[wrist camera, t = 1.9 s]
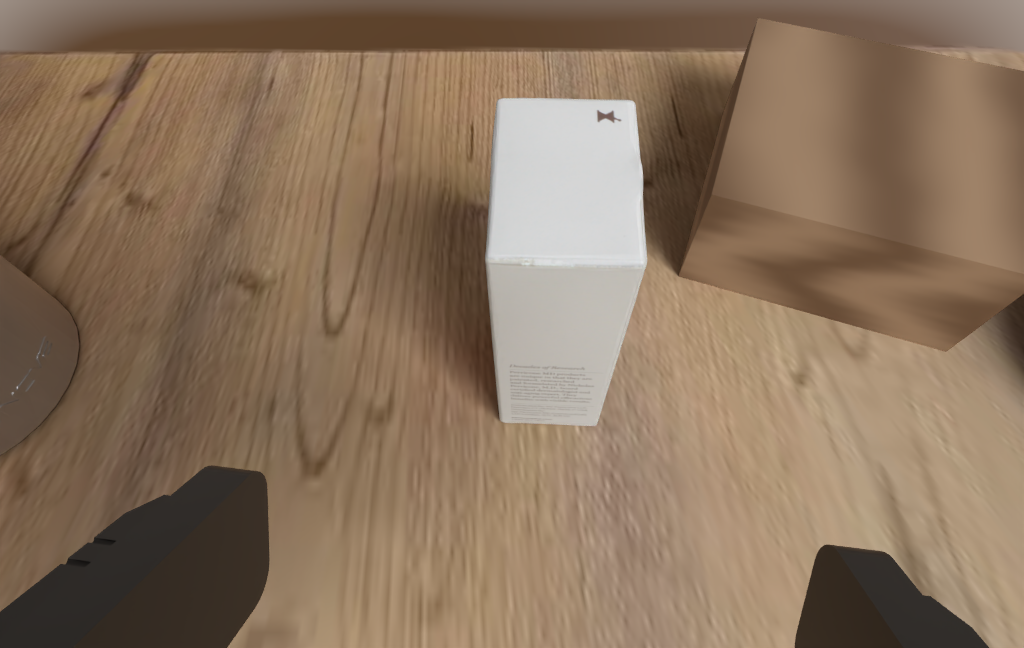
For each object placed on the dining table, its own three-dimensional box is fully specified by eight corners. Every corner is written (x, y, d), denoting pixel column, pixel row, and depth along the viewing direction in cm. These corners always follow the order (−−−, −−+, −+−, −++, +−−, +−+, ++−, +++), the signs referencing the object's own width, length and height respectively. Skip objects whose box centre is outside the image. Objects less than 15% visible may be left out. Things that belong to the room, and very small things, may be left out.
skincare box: (503, 303, 28) (495, 90, 18) (595, 306, 28) (641, 93, 18) (495, 428, 25) (480, 259, 15) (598, 432, 25) (655, 264, 15)
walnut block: (676, 279, 29) (711, 194, 24) (721, 115, 35) (757, 18, 30) (942, 354, 27) (1043, 279, 22) (944, 167, 33) (1026, 71, 27)
